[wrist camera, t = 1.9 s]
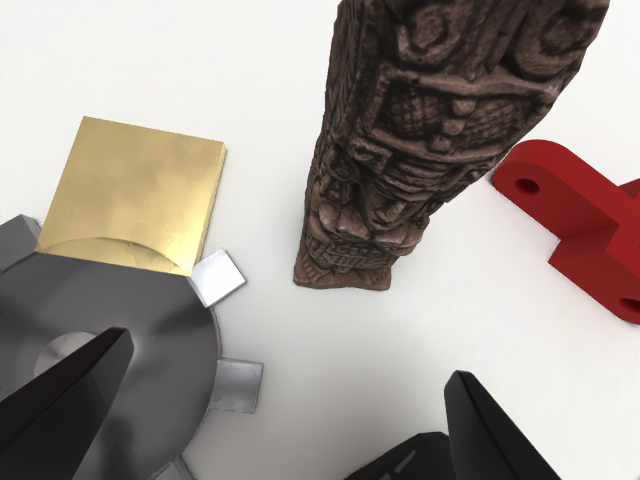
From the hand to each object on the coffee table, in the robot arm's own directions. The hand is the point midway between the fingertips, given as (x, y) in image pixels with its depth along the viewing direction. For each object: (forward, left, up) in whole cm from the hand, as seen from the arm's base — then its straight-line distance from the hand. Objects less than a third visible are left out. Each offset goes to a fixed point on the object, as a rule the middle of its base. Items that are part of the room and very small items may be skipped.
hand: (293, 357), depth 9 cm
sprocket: (+8, +9, -14) cm, 18 cm away
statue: (+3, -7, -14) cm, 16 cm away
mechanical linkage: (-7, -23, -14) cm, 28 cm away
